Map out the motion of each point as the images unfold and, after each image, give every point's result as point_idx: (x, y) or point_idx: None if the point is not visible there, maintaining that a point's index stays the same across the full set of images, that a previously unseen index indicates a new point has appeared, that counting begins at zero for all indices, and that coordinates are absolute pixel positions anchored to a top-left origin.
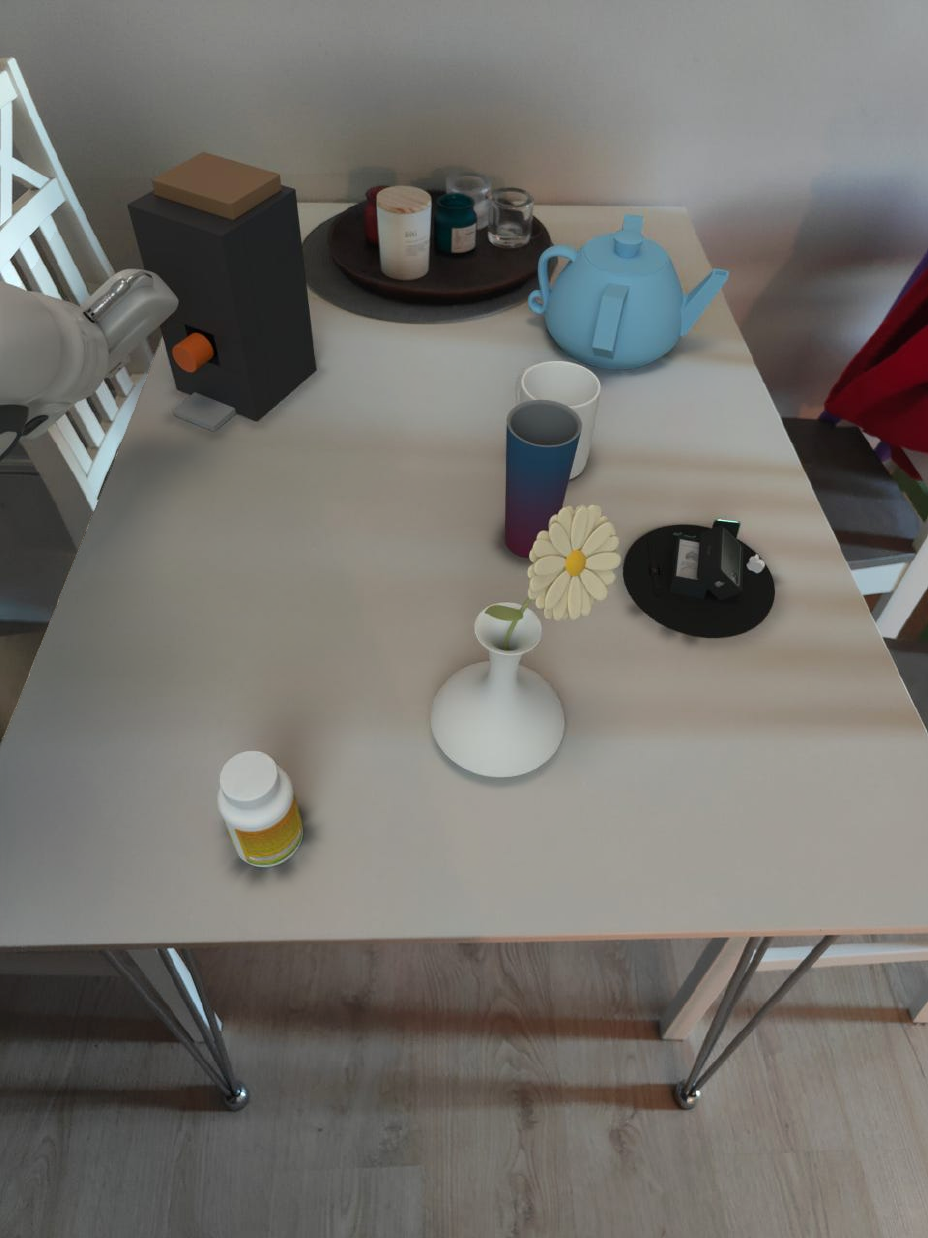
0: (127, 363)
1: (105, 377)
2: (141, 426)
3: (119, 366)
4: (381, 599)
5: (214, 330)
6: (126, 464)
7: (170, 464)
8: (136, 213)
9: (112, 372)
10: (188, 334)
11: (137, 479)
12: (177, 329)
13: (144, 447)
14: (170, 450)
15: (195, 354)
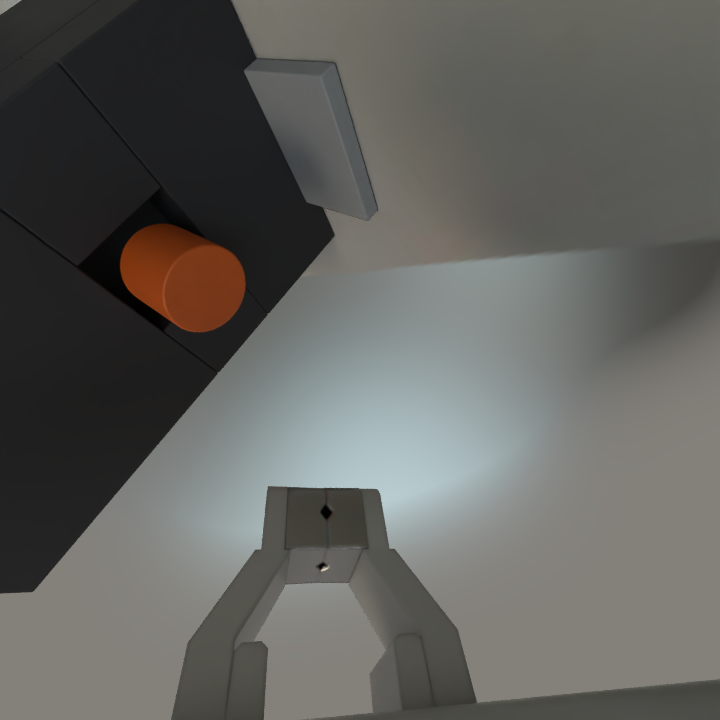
0: (290, 493)
1: (388, 557)
2: (448, 257)
3: (313, 533)
4: None
5: (54, 274)
6: (607, 240)
7: (546, 94)
8: (18, 581)
9: (353, 539)
10: None
11: (698, 169)
12: None
13: (507, 223)
14: (479, 144)
15: (156, 276)
